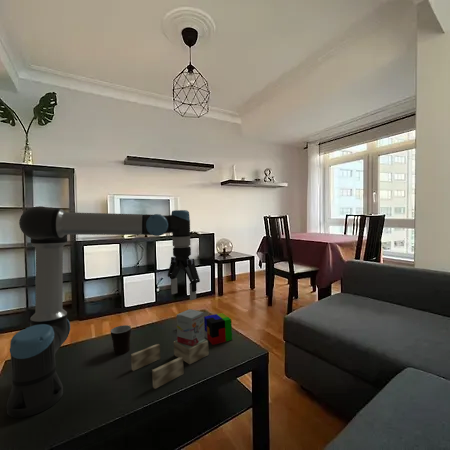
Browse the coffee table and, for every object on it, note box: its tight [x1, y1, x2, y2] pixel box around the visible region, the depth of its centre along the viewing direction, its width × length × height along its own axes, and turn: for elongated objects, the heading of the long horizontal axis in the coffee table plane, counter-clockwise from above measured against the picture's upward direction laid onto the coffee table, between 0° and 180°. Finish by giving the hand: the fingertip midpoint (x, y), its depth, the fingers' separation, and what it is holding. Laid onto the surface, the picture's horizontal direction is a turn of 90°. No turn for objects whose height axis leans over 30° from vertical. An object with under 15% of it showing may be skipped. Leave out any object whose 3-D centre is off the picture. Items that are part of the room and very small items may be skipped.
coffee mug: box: [110, 324, 132, 356], centre depth 122 cm, size 12×9×10 cm
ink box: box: [176, 308, 205, 346], centre depth 114 cm, size 9×9×12 cm
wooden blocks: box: [130, 338, 209, 390], centre depth 108 cm, size 28×18×6 cm, turn 134°
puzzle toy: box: [204, 312, 233, 346], centre depth 129 cm, size 10×10×10 cm
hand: (183, 296), depth 114 cm, fingers open, 13 cm apart
